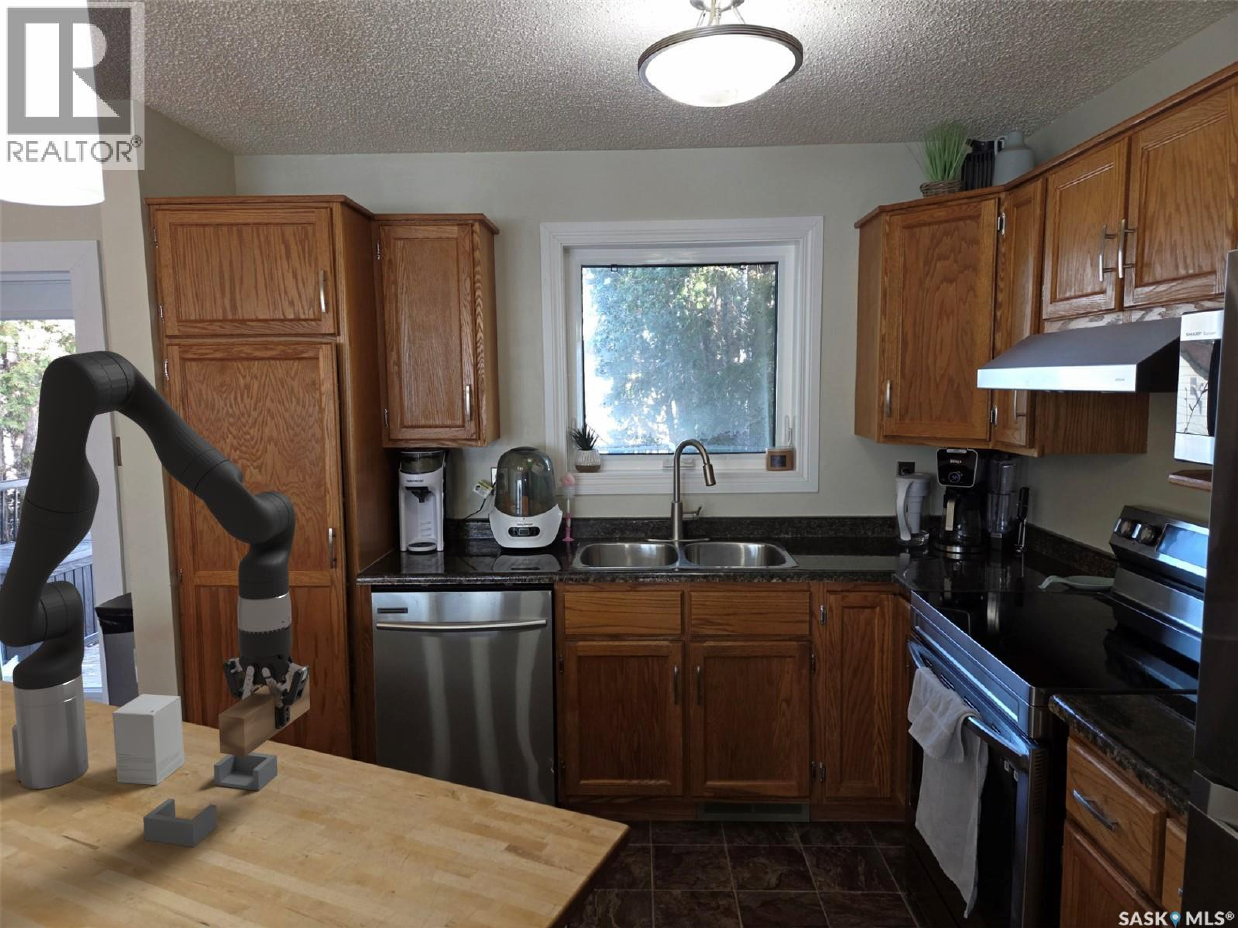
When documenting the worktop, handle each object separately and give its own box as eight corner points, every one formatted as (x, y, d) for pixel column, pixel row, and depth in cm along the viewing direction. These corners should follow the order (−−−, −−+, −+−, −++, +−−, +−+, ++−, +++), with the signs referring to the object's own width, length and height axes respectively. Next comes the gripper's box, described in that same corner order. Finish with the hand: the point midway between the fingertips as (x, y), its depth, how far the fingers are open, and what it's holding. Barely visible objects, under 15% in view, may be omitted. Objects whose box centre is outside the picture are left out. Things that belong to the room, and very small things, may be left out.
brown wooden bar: (219, 752, 111) (218, 714, 111) (287, 705, 127) (286, 671, 126) (245, 756, 111) (243, 718, 110) (309, 708, 126) (309, 674, 125)
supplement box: (186, 763, 133) (182, 695, 131) (156, 786, 126) (152, 714, 124) (147, 760, 134) (143, 692, 132) (115, 782, 126) (110, 711, 125)
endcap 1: (144, 839, 112) (143, 817, 111) (170, 819, 117) (168, 798, 116) (193, 847, 110) (192, 824, 110) (217, 826, 115) (216, 804, 115)
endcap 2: (277, 774, 130) (276, 755, 129) (259, 790, 125) (258, 770, 125) (234, 769, 131) (233, 749, 131) (214, 784, 126) (213, 764, 126)
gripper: (206, 624, 114) (210, 731, 116) (292, 634, 112) (295, 742, 114) (239, 609, 121) (242, 709, 124) (320, 617, 119) (322, 719, 121)
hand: (267, 724), depth 119 cm, fingers closed on brown wooden bar, 4 cm apart
